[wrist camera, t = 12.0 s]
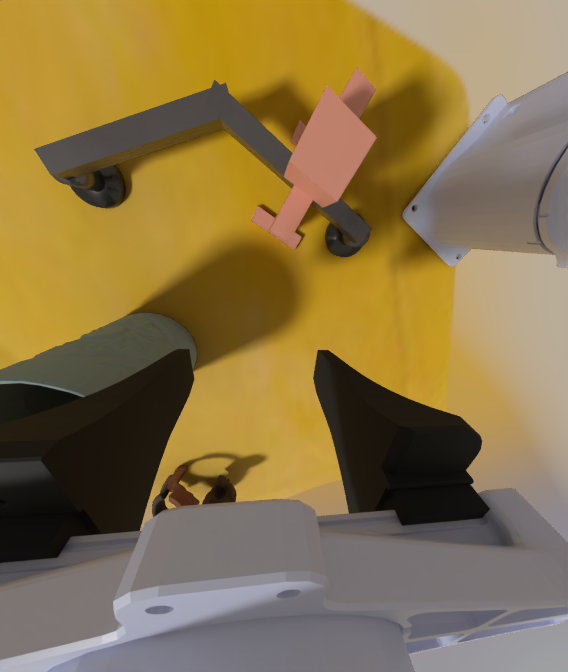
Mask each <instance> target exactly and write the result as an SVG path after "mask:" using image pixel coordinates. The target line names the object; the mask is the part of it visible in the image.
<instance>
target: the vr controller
mask: <svg viewBox="0 0 568 672" xmlns="http://www.w3.org/2000/svg"><path fill="white" fill-rule="evenodd" d="M186 471H187V467H185V466H181V467H179V468H178V469H177V470H176V471H175V472H174V474H173V475H170V476H169V477H168V478H167V480H166V481H165V483H164V484H163V486H162V488H161V491H160V494H159V495H158V496H157V497H156V498H155V499H154V501H153V504H152V507H153V508H152V514H153V517H155V516H156V515H158V514H159V513H160V512H162V511H163V510H167V509H168V508H167V507H166V505H165V500H164V499H165V498H166V496H167V495H168V493H169V491H170V492H173V493H172V494H170V496H169V501H170V502H171V503H172V504H174V505H175V506H176V507H181V506H188V505H198V504H199V500H198V499H196V498H195V497H194V496H193V494H192V493H190V492H188V491H187V490H186V489H185V487H183V486H182V485H180V484H179V481H180V479H181V477H182V476H183V474H184V473H185V472H186ZM235 501H236V490H235V488H234V486H233V485H232V484H231V483H229V480H227V479H226V478H225V477H224V476H221V475H220V476H219V477H218V479H217V482H216V483H215V485H214V487H213V488H212V489H211V491H210V492H209V493H208V494H207V495H206V497H205V499H204V500H203V503H202V504H216V503H230V502H235Z"/></svg>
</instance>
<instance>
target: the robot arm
mask: <svg viewBox="0 0 568 672" xmlns="http://www.w3.org/2000/svg"><path fill="white" fill-rule="evenodd" d="M484 117H485V122H484V123H483V118H484ZM413 205H414V207H415V209H414V211H412V206H413ZM402 217H403V219H404V220H405V221H406V222H407V223H408V224H409V225H410V226H411V228H412V229H413V230H414V231H415V232H416V233H417V234H418V235H419V236H420V237H421V238H422V239H423V240H424V241H425V242H426V243H427V244H428V245H429V246H430V247H431V248H432V249H433V250H434V251H435V252H436V254H437V255H438V256H439V257H440V258H441V259H442V260H443V261H444V262H445V263H446V264H447V265H448V266H455V265H456V264H457V263H458V262H459V261H460V260H461V259H462V258H463V257H464V256H465V255H466V254H467V253H468V252H469V251H470V250H471V249H483V250H496V251H497V250H498V251H511V252H523V253H537V254H550V255H556V258H557V267H561V268H568V72H566V73H565V74H563V75H561V76H559V77H557V78H555V79H553V80H551V81H549V82H548V83H546V84H544V85H542V86H540V87H538V88H537V89H534V90H532V91H531V92H529V93H527V94H525V95H523V96H521V97H519V98H517V99H515V100H514V101H512V102H510V103H507V101H506V99H505V98H504V96H503V95H498V96H496V97H495V98H493V99H492V100H491V101H490V102H489V103H488V105H487V106H486V107H485V108H484V110H483V111H482V112H481V113H480V115H479V116H478V117H477V118H476V120H475V121H474V122H473V124H472V125H471V126H470V127H469V129H468V130H467V131H466V132H465V134H464V135H463V136H462V137H461V139H460V140H459V141H458V143H457V144H456V145H455V146H454V148H453V149H452V150H451V151H450V153H449V154H448V155H447V156H446V158H445V159H444V160H443V162H442V163H441V164H440V165H439V167H438V168H437V169H436V170H435V172H434V173H433V174H432V175H431V177H430V178H429V179H428V181H427V182H426V183H425V184H424V186H423V187H422V188H421V189H420V191H419V192H418V193H417V195H416V196H415V197H414V198H413V200H412V201H411V202H410V203H409V205H408V206H407V207H406V208H405V210H404V211H403V214H402ZM457 255H458V257H457V258H456V256H457ZM313 379H314V384H315V388H316V393H317V396H318V399H319V401H320V404H321V407H322V409H323V412H324V415H325V417H326V420H327V423H328V425H329V428H330V432H331V435H332V439H333V442H334V446H335V450H336V454H337V459H338V463H339V467H340V471H341V476H342V481H343V485H344V490H345V495H346V500H347V505H348V510H349V514H340V515H327V516H316V512H315V510H314V509H313V508H312V507H310V506H308V505H306V504H305V503H303V502H301V501H299V500H289V499H272V500H258V501H244V502H230V503H216V504H202V505H188V506H181V507H176V508H172V509H167V510H163V511H162V512H160V513H159V514H158V515H156V516H155V517H153V518H152V519H150V520H149V521H148V522H146V523H145V524H144V527H143V529H142V531H140V528H141V524H142V520H143V517H144V513H145V509H146V506H147V503H148V500H149V496H150V493H151V490H152V487H153V483H154V480H155V477H156V474H157V471H158V468H159V465H160V462H161V459H162V456H163V453H164V451H165V448H166V445H167V442H168V440H169V437H170V435H171V433H172V430H173V428H174V426H175V424H176V422H177V420H178V418H179V416H180V414H181V412H182V410H183V408H184V405H185V403H186V401H187V399H188V397H189V395H190V391H191V388H192V385H193V382H194V374H193V368H192V362H191V356H190V350H189V349H176V350H174V351H172V352H171V353H169V354H167V355H166V356H164V357H162V358H161V359H159V360H157V361H156V362H154V363H152V364H151V365H149V366H147V367H146V368H144V369H142V370H140V371H138V372H137V373H135V374H133V375H131V376H129V377H127V378H126V379H124V380H122V381H120V382H118V383H115V384H113V385H111V386H109V387H107V388H105V389H102V390H100V391H98V392H95V393H93V394H90V395H88V396H85V397H83V398H80V399H78V400H75V401H73V402H70V403H67V404H64V405H61V406H59V407H56V408H53V409H50V410H47V411H44V412H41V413H38V414H34V415H31V416H28V417H25V418H21V419H18V420H14V421H11V422H7V423H3V424H0V672H415V671H414V668H413V665H412V663H411V660H410V657H409V655H410V654H414V653H419V652H423V651H428V650H433V649H437V648H442V647H447V646H451V645H456V644H460V643H465V642H469V641H474V640H478V639H483V638H488V637H493V636H498V635H502V634H507V633H513V632H517V631H522V630H528V629H534V628H540V627H545V626H551V625H556V624H558V623H561V622H563V621H566V620H568V542H567V541H566V540H565V539H564V538H563V537H562V536H561V535H560V534H559V533H558V532H557V531H556V530H555V529H554V528H553V527H552V526H551V525H550V524H549V523H548V522H547V521H546V520H545V519H544V518H543V517H542V516H541V515H540V514H539V513H538V512H537V511H536V510H535V509H534V508H533V507H532V506H531V505H530V504H529V503H528V502H527V500H526V499H525V498H524V497H523V496H522V495H521V494H519V492H518V491H516V489H513V488H507V489H495V490H494V489H493V490H486V491H482V492H480V493H478V494H477V492H476V491H475V490H474V489H473V487H472V486H471V485H470V484H472V483H473V482H474V481H473V479H472V477H471V476H470V475H469V474H468V473H467V471H466V469H467V468H468V467H469V465H470V464H471V463H472V461H473V460H474V459H475V457H476V456H477V455H478V453H479V451H480V449H481V445H482V440H481V436H480V435H479V434H478V433H477V432H476V431H475V430H474V429H473V428H472V427H471V426H470V425H468V424H467V423H466V422H465V421H464V420H463V419H462V418H461V417H460V416H457V415H453V414H450V413H447V412H444V411H441V410H438V409H434V408H431V407H429V406H426V405H423V404H421V403H418V402H415V401H413V400H410V399H408V398H405V397H403V396H401V395H399V394H397V393H394V392H392V391H390V390H388V389H386V388H384V387H382V386H381V385H379V384H377V383H375V382H373V381H372V380H370V379H368V378H367V377H365V376H364V375H362V374H360V373H359V372H357V371H356V370H355V369H353V368H352V367H350V366H349V365H348V364H346V363H345V362H344V361H342V360H341V359H340V358H338V357H337V356H336V355H334V354H333V353H332V352H330V351H329V350H318V352H317V358H316V365H315V371H314V377H313Z"/></svg>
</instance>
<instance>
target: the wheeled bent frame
mask: <svg viewBox="0 0 568 672" xmlns="http://www.w3.org/2000/svg"><path fill="white" fill-rule="evenodd" d="M220 129H224V130H225V131H227V132H228V133H229V134H230V135H231V136H232V137H233V138H235V139H236V140H237V141H238V142H239V143H240V144H241V145H243V146H244V147H245V148H246V149H247V150H248V151H249V152H251V153H252V154H253V155H254V156H255V157H256V158H258V159H259V160H260V161H261V162H262V163H263V164H264V165H266V166H267V167H268V168H269V169H270V170H271V171H272V172H274V173H275V174H276V175H277V176H278V177H279V178H280V179H282V180H283V181H284V182H285V183H286V184H287V185H288V186H290V187H291V188H292V187H293V185H294V184H292V183H291V182H290V181H289V180H287V179H286V178H285V177H284V174H285V171H286V168H287V166H288V163H289V160H290V158H291V156H292V154H293V153H292V152H291V151H290V150H289V149H287V148H286V147H285V146H284V145H283V144H282V143H281V142H280V141H279V140H278V139H277V138H276V137H275V136H274V135H273V134H272V133H271V132H269V131H268V130H267V129H266V128H265V127H264V126H263V125H262V124H261V123H260V122H259V121H258V120H257V119H256V118H255V117H254V116H253V115H251V114H250V113H249V112H248V111H247V110H246V109H245V108H244V107H243V106H242V105H241V104H240V103H239V102H238V101H237V100H236V99H235V98H233V97H232V96H231V95H230V94H229V92H228V89H227V85H226V83H224V84H221V85H220V84H219V83H218V82H217V81H215V80H214V82H213V85H212V87H211V88H210V89H207V90H204V91H201V92H198V93H195V94H192V95H189V96H187V97H184V98H181V99H178V100H175V101H172V102H169V103H166V104H163V105H160V106H158V107H155V108H152V109H149V110H146V111H143V112H140V113H137V114H134V115H131V116H129V117H126V118H123V119H120V120H117V121H114V122H111V123H108V124H105V125H102V126H100V127H97V128H94V129H91V130H88V131H85V132H82V133H79V134H76V135H73V136H71V137H68V138H65V139H62V140H59V141H56V142H53V143H50V144H47V145H44V146H42V147H39V148H36V149H34V150H35V151H36V153H37V154H38V156H39V157H40V159H41V160H42V162H43V163H44V165H45V167H46V168H47V170H48V171H49V173H50V174H51V175H52V176H53V177H54V178H55V179H56V180H57V181H59V182H61V183H63V184H66V185H70V187H71V188H72V189H73V191H74V192H75V193H76V194H77V195H78V196H79V197H80V198H81V199H82V200H84V201H85V202H87V203H88V204H90V205H93V206H96V207H101V208H114V207H116V206H118V205H119V204H120V203H121V202H122V201H123V199H124V196H125V183H124V179H123V177H122V174H121V172H120V171H119V169H118V167H117V166H116V164H119V163H122V162H125V161H128V160H131V159H134V158H137V157H140V156H142V155H145V154H148V153H151V152H154V151H157V150H160V149H163V148H166V147H169V146H172V145H175V144H178V143H181V142H184V141H187V140H190V139H193V138H196V137H199V136H202V135H205V134H208V133H211V132H214V131H217V130H220ZM310 205H311V206H312V207H314V208H315V209H316V210H317V211H318V212H319V213H320V214H322V215H323V216H324V217H325V218H326V219H327V220H328V221H330V223H329V225H328V227H327V230H326V234H325V240H326V245H327V247H328V249H329V250H330V252H332V253H333V254H334V255H336V256H340V257H349V256H352V255H354V254H355V253H357V252H358V251H359V250H360V249H361V248H362V246H363V245H364V244H365V243H366V242H367V241H368V239H369V232H370V231H371V229H372V228H371V227H370V226H369V225H368V224H367V223H366V222H365V221H364V219H363V218H362V217H361V216H360V215H359V214H357V213H355V212H354V211H353V210H352V209H351V208H350V207H349V206H348V205H347V204H346V203H345V202H344V201H343V200H341V199H340V198H339V200H338V201H337V202H335V203H333V204H330V205H328V206H326V207H323V208H322V207H321V206H320V205H318V204H317V203H316V202H315V201H314V200H313V201H312V203H311V204H310Z"/></svg>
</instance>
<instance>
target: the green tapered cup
mask: <svg viewBox="0 0 568 672" xmlns="http://www.w3.org/2000/svg"><path fill="white" fill-rule="evenodd" d="M176 349H189V350H190V356H191V362H192V368H194V365H195V363H196V359H197V351H196V346H195V343H194V341H193V338H192V337H191V335H190V334H189V333H188V331H187V330H186V329H185V328H184V327H183V326H182V325H180V324H179V323H178V322H176V321H174V320H172V319H171V318H168V317H166V316H163V315H160V314H156V313H136V314H131V315H128V316H126V317H123V318H121V319H119V320H117V321H114V322H112V323H110V324H108V325H106V326H104V327H100V328H99V329H97V330H93V331H92V332H90V333H88V334H84V335H83V336H81V338H80V339H78V340H75V341H71V342H67V343H65V344H63V345H61V346H56V347H54V348H52V349H49V350H47V351H45V352H43V353H40V354H38V355H36V356H35V357H34V358H32V359H29V360H25V361H21V362H18V363H16V364H13V365H11V366H8V367H6V368H3V369H1V370H0V424H3V423H7V422H11V421H14V420H18V419H21V418H25V417H28V416H31V415H34V414H38V413H41V412H44V411H47V410H50V409H53V408H56V407H59V406H61V405H64V404H67V403H70V402H73V401H75V400H78V399H80V398H83V397H85V396H88V395H90V394H93V393H95V392H98V391H100V390H102V389H105V388H107V387H109V386H111V385H113V384H115V383H118V382H120V381H122V380H124V379H126V378H127V377H129V376H131V375H133V374H135V373H137V372H138V371H140V370H142V369H144V368H146V367H147V366H149V365H151V364H152V363H154V362H156V361H157V360H159V359H161V358H162V357H164V356H166V355H167V354H169V353H171V352H172V351H174V350H176Z"/></svg>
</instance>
